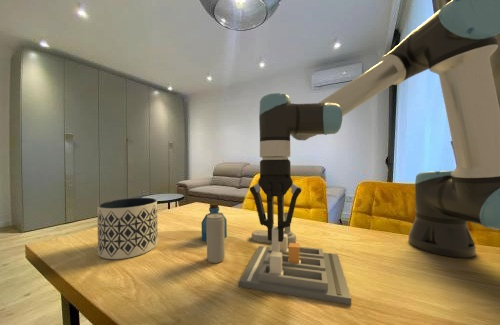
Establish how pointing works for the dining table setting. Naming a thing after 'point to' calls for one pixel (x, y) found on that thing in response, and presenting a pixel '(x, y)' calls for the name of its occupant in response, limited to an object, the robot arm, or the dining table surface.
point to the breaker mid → (294, 253)
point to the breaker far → (284, 244)
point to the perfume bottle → (213, 210)
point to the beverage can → (215, 238)
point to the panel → (299, 275)
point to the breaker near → (276, 263)
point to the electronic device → (263, 235)
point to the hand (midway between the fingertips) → (275, 253)
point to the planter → (127, 227)
